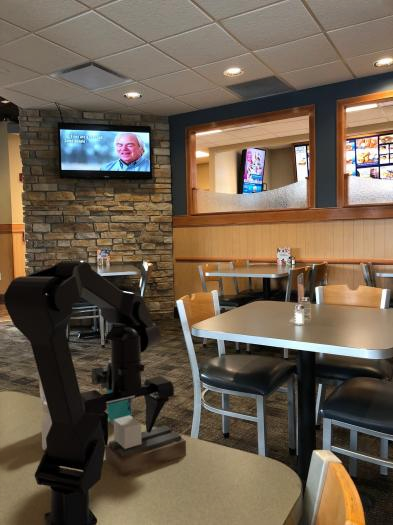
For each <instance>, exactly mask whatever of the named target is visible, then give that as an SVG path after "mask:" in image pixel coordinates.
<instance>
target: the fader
mask: <svg viewBox="0 0 393 525" xmlns="http://www.w3.org/2000/svg"><path fill="white" fill-rule="evenodd" d="M141 432H142V423H141V422H140V421H139V420H137V419H136V418H134V417H133V416H130V415H129V416H125V417H121V418H117V419H114V425H113V440H115V441H117V442H118V443H119V444H120V445H121V446H122V447H123V448H124V449H126V448H130V447H133V446H136V445H140V444H141Z"/></svg>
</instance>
